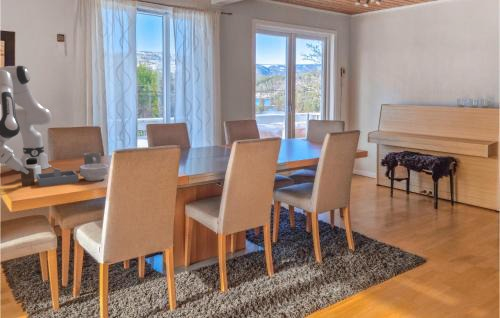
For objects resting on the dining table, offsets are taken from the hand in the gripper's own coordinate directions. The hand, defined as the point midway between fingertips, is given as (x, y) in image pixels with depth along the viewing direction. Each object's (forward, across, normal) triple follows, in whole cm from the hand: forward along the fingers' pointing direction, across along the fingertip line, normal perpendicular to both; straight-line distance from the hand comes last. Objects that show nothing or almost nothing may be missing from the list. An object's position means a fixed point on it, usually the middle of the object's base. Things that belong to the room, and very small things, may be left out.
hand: (27, 171), depth 226 cm
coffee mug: (+33, -26, +21) cm, 47 cm away
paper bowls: (+29, +4, +18) cm, 35 cm away
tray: (+16, 0, +5) cm, 16 cm away
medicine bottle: (+8, -18, -3) cm, 20 cm away
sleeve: (+5, 0, -6) cm, 8 cm away
